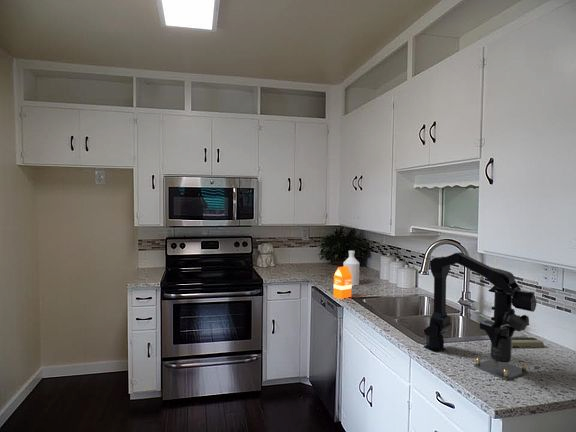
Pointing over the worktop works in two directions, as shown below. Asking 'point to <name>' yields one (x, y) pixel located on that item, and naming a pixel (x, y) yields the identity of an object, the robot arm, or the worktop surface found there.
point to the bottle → (353, 267)
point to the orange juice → (342, 283)
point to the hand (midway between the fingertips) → (501, 346)
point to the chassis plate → (501, 369)
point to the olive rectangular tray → (526, 342)
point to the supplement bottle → (502, 347)
